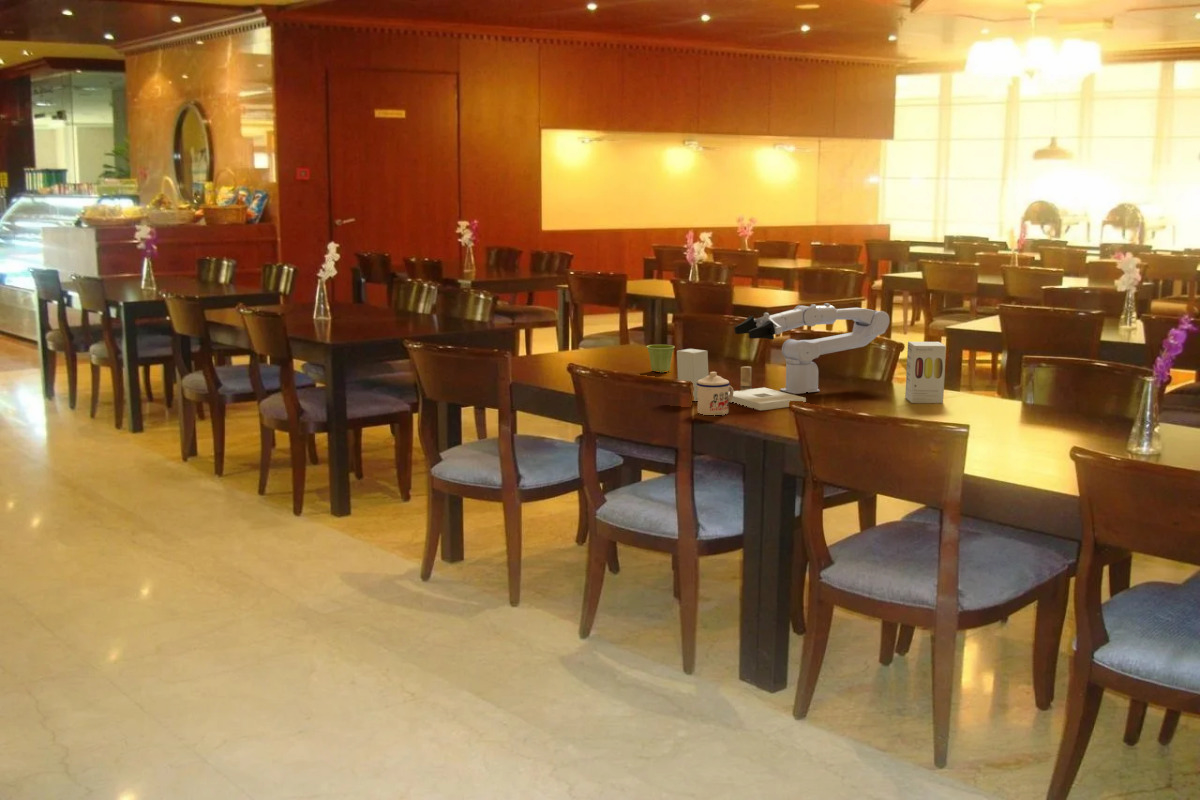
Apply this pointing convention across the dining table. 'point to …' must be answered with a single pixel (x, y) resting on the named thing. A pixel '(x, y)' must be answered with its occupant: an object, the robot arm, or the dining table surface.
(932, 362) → the supplement box
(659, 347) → the plant pot
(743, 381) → the peg
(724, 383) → the teacup with lid
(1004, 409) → the dining table surface
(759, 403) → the board
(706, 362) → the skincare box
